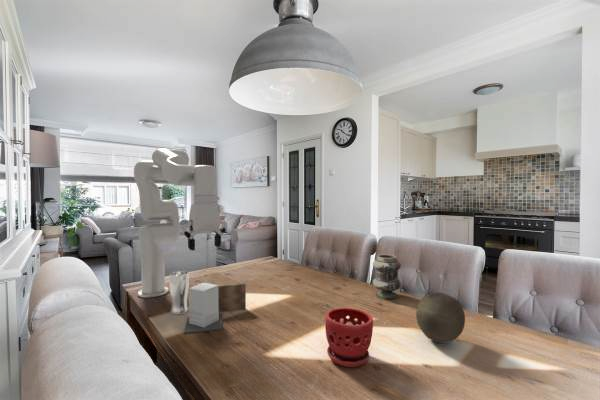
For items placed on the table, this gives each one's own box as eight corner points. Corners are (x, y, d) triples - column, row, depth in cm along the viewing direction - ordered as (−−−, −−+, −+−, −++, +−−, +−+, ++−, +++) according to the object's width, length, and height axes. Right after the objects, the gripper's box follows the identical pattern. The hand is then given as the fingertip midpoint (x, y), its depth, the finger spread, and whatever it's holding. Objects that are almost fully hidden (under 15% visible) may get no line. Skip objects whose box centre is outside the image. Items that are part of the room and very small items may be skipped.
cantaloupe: (407, 331, 97) (408, 287, 97) (448, 330, 98) (449, 286, 98) (428, 355, 83) (429, 303, 83) (476, 353, 84) (477, 302, 84)
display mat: (184, 333, 95) (184, 332, 95) (188, 318, 107) (188, 316, 107) (222, 329, 98) (222, 327, 98) (222, 314, 110) (222, 313, 110)
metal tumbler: (182, 316, 109) (181, 276, 108) (165, 314, 110) (165, 275, 110) (192, 308, 116) (192, 271, 115) (176, 307, 117) (176, 270, 116)
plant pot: (374, 373, 75) (375, 327, 74) (323, 368, 77) (323, 323, 76) (370, 347, 88) (371, 307, 87) (326, 343, 90) (327, 304, 89)
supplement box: (219, 320, 104) (219, 285, 104) (203, 328, 98) (203, 291, 97) (204, 315, 108) (204, 281, 108) (188, 323, 101) (188, 287, 101)
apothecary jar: (385, 289, 139) (385, 252, 139) (406, 297, 129) (407, 256, 128) (367, 294, 133) (367, 254, 132) (387, 302, 122) (388, 260, 122)
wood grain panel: (197, 314, 111) (197, 287, 110) (197, 312, 112) (197, 286, 111) (245, 309, 115) (245, 284, 115) (245, 308, 116) (245, 283, 116)
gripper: (221, 199, 112) (221, 243, 113) (176, 200, 100) (176, 249, 101) (232, 200, 107) (231, 246, 107) (185, 201, 95) (185, 253, 95)
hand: (205, 248), depth 104 cm, fingers open, 9 cm apart
